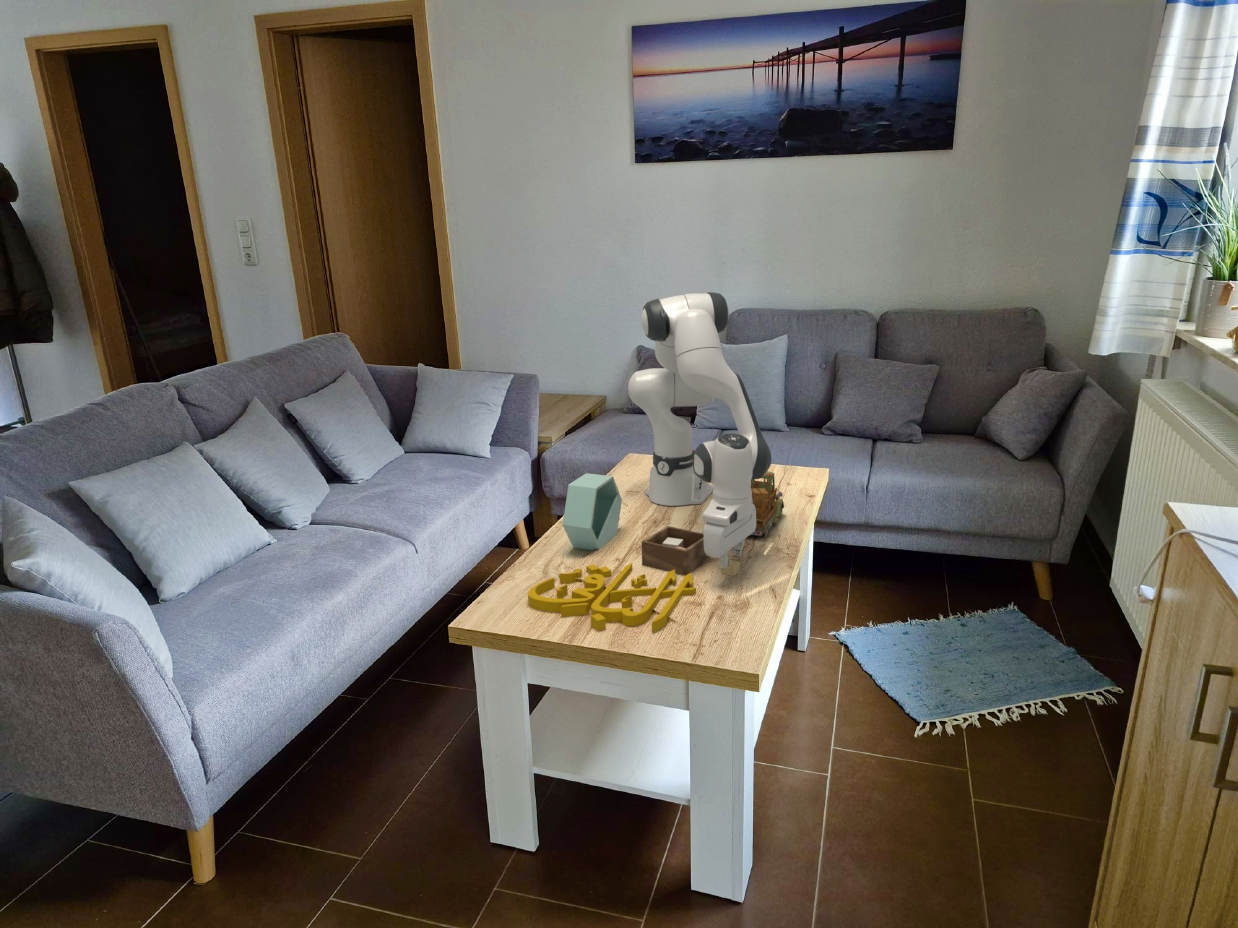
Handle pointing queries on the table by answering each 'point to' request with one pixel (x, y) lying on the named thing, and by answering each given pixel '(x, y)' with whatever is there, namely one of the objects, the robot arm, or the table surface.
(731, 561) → the lid
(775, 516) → the toy truck
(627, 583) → the table surface
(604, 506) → the planter
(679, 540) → the cream cube
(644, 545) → the walnut box
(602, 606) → the decorative art
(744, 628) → the table surface
